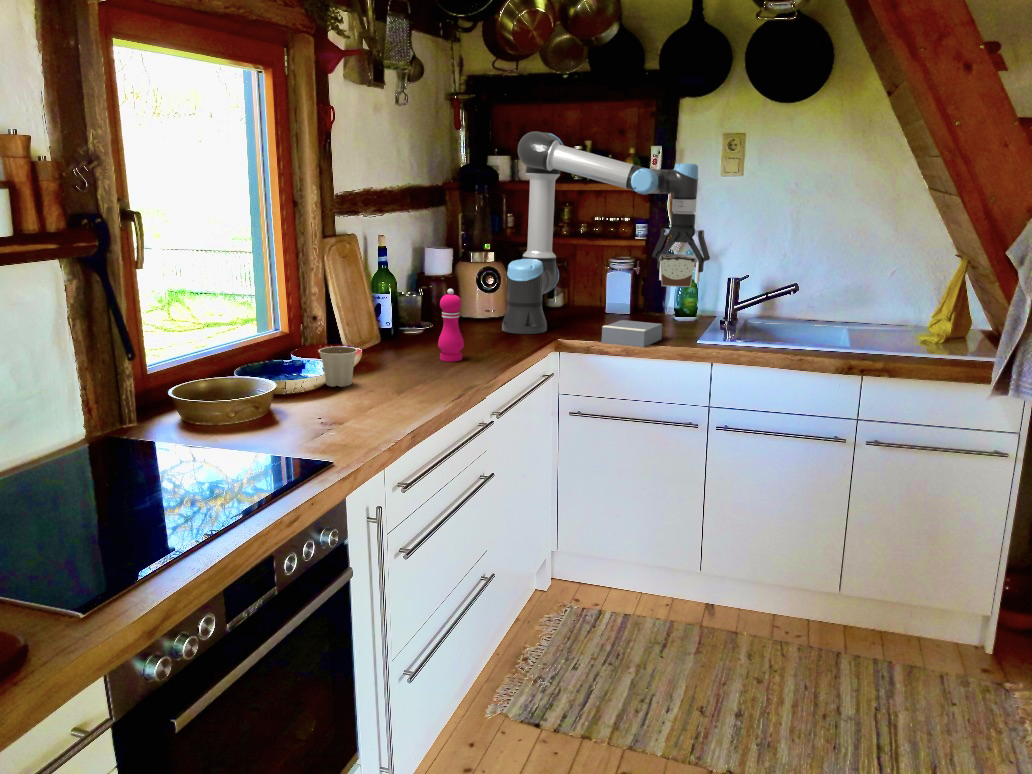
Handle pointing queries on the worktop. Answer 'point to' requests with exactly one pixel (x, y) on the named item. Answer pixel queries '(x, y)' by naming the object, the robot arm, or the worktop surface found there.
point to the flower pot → (338, 365)
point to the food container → (677, 269)
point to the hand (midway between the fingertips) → (679, 281)
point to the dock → (632, 333)
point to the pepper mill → (450, 328)
